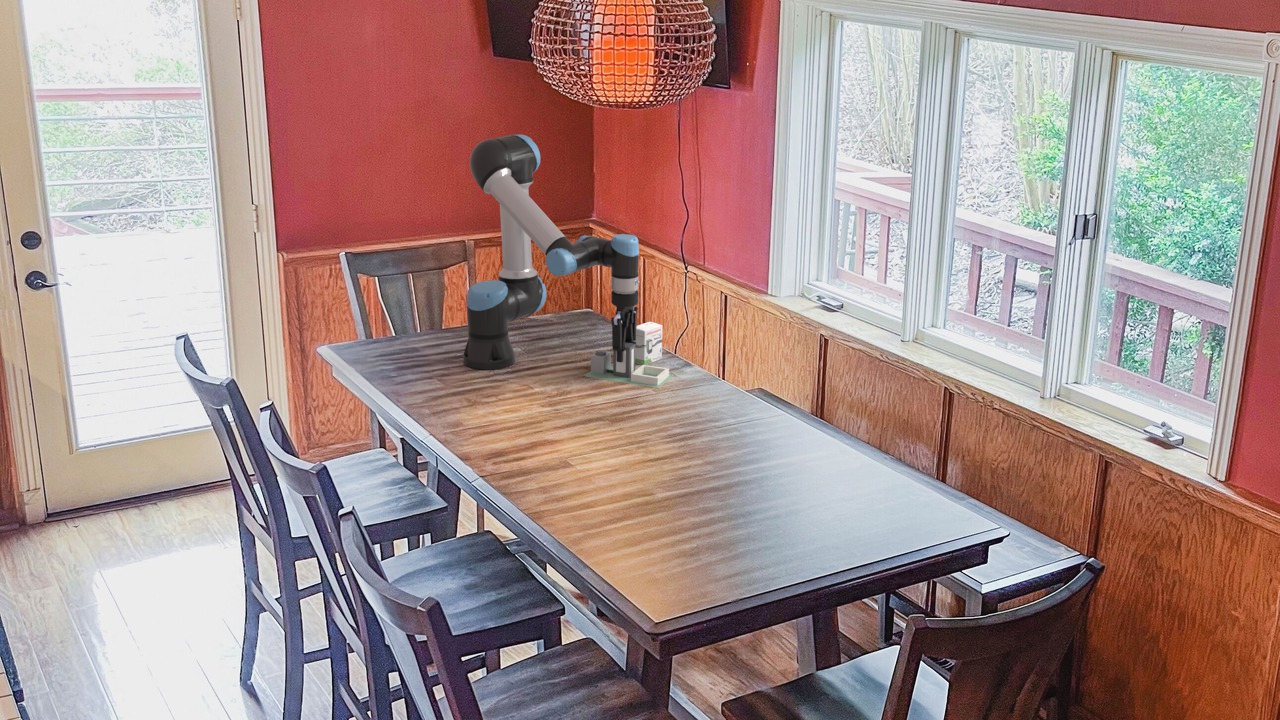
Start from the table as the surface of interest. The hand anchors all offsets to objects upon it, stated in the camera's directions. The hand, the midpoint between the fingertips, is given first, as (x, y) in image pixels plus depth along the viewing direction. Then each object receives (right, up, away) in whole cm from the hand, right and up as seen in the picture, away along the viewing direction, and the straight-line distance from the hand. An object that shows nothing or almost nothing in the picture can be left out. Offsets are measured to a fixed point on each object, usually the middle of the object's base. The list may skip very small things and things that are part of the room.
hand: (624, 369), depth 355 cm
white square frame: (+7, -3, -2) cm, 8 cm away
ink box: (+7, +1, +13) cm, 15 cm away
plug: (0, -2, +1) cm, 2 cm away
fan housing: (-6, 0, +3) cm, 7 cm away
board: (+1, -3, 0) cm, 3 cm away
